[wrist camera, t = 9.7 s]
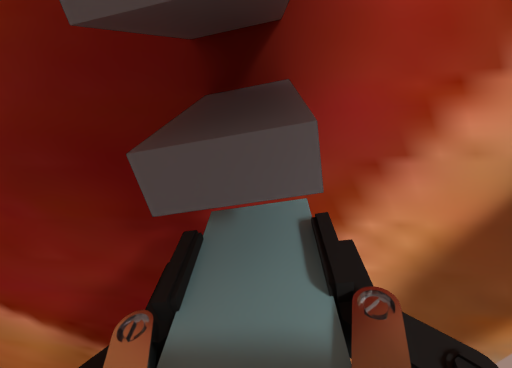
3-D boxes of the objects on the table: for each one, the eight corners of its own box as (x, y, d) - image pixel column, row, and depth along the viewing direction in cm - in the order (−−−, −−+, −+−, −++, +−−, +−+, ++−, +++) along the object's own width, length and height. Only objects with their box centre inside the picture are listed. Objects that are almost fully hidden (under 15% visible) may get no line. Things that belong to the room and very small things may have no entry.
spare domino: (211, 211, 14) (114, 487, 5) (306, 198, 14) (382, 481, 5) (220, 241, 15) (150, 523, 6) (310, 230, 14) (380, 522, 5)
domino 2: (205, 95, 16) (125, 154, 7) (288, 79, 15) (316, 120, 6) (213, 128, 17) (152, 217, 8) (293, 113, 16) (323, 192, 7)
